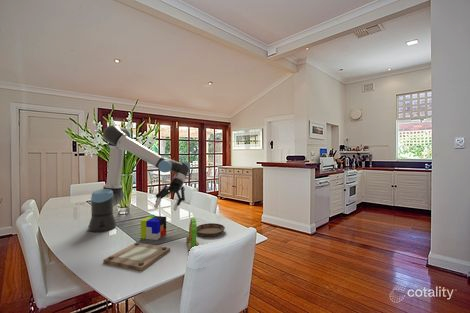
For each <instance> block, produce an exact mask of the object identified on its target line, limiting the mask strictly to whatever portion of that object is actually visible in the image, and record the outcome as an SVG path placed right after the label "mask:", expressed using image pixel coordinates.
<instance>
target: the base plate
mask: <svg viewBox="0 0 470 313" xmlns="http://www.w3.org/2000/svg"><path fill="white" fill-rule="evenodd" d="M170 252H171V247H168V246H163V245H162V246H161V245H156V244H149V243H143V242H134V243H133V244H130V245H128V246H127V247H125V248H123V249H121V250H120V251H119V250H118V251H117V252H116V253H113V254H112V255H109V256H107V257H106V258H104V259H103V264H107V265H110V266H114V267H115V266H116V267H120V268H125V269H130V270H133V271H138V272H139V271H140V272H143V271H144V270H145V269H147V268H148V267H149V266H151V265H152V264H154V263H155V262H157V261H158V260H159V259H161V258H163V256H165V255H167V254H168V253H170Z"/></svg>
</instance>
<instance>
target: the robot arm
mask: <svg viewBox="0 0 470 313" xmlns="http://www.w3.org/2000/svg"><path fill="white" fill-rule="evenodd" d="M102 134H103V135H102V136H103V138H104V140H105V141H106V142H107V146H108V147H109V157H108V158H109V159H108V166H107V167H108V168H107V176H106V184H104V185H103V188H101V189H97V190H94V191H93V192H92V193H91V197H90V200H91V204H90V206H91V212H90V213H91V218H90V219H89V220H90V221H89V224H88V226H87V230H88V231H89V232H91V233H101V232H107V231H108V232H109V231H110V230H114V229H115V228H116V227H117V222H116V219H115V217H114V207H115V206H117V205H119V204H120V203H121V202H122V201H123V199H124V198H125V193H124V191H123V185H122V174H123V167H124V158H125V157H124V156H125V155H124V154H125V151H127V152H129V153H131V154H133V155H134V156H135V157H138V158H139V159H141V160H143V161H145V162H146V163H148V164H150V165H152V166H153V167H155V168H157V169H158V170H159V171H160V172H161V173H168V172H169V173H170V172H171V173H175V174H174V176H173V178H172V179H171V181H170V183H169V184H170V185H169V186H168V185H167V184H166V185H165V186H164V187H163V188H162V189H161V190H160V191H159V192H158V193H157V194H156V195H155V198H156V200H155V204H154V205H153V207H154V208H155V209H156V210H157V209H158V208H159V205H160V203H161V201H162V199H163V198H165V197H166V196H168V195H170V194H174V195H175V194H176V196H177V199H176V200H175V203H174V206H173V210H174V211H175V212H177V209H178V208H179V206H180V205H181V203H182V202H184V201H186V198H185V197H186V196H185V189H186V188H185V187H184V186H183V185H184V182H185V180H186V179H187V176H188V174H189V173H190V169H191V163H189V162H188V161H185V160H182V161H181V162H178V161H176V160H173V159H171V158H169V157H165V156H164V157H163V156H162V155H160V154H158V153H157V152H154V151H153V150H152V149H149V148H147V147H146V146H144V145H142V144H141V143H139V142H137V141H136V140H134V139H132V138H131V136H132V135H131V133H130V131H129V130H128V129H127V128H125V127H122V126H119V125H114V124H112V125H108V126H106V127H105V128H104V130H103V132H102Z"/></svg>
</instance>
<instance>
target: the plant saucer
mask: <svg viewBox="0 0 470 313" xmlns="http://www.w3.org/2000/svg"><path fill="white" fill-rule="evenodd" d="M196 226H197V235H199V236H202V237H205V238H209V237H210V238H211V237H217V236H219V235H221V234H222V233H223V232H224V231H225V229H226V227H225V226H224V225H223V224H220V223H215V222H214V223H213V222H211V223H210V222H208V223H203V224H199V225H196Z"/></svg>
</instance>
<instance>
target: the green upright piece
mask: <svg viewBox="0 0 470 313" xmlns="http://www.w3.org/2000/svg"><path fill="white" fill-rule="evenodd" d="M197 226H198V225H197V220H196V217H191V218H190V222H189V227H188V235H186V238H185V239H186V244H187V250H188V251H189V250H190V249H191V248H192V247H194V246H198V245H199V244H200V243H199V241H197V235H198V233H197ZM199 246H200V245H199ZM191 250H192V249H191ZM189 252H190V251H189Z"/></svg>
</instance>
